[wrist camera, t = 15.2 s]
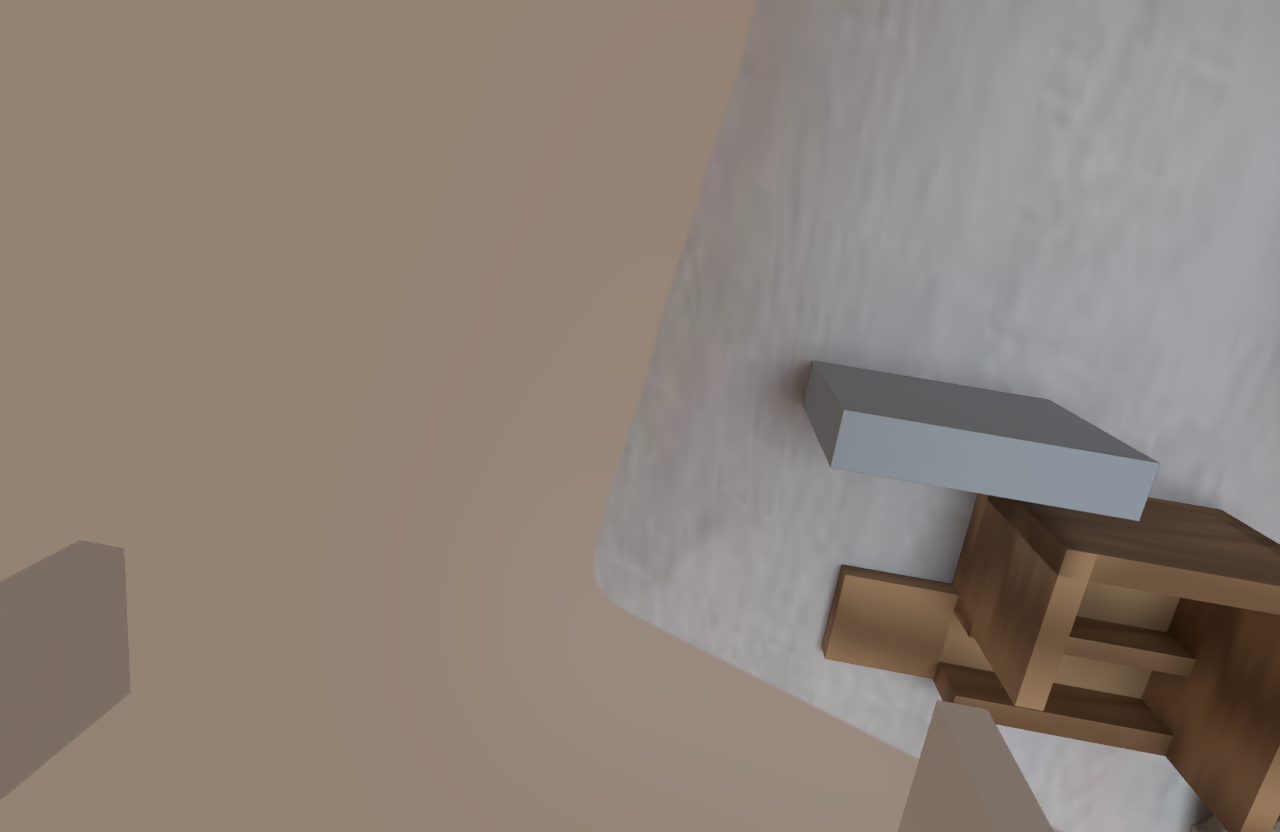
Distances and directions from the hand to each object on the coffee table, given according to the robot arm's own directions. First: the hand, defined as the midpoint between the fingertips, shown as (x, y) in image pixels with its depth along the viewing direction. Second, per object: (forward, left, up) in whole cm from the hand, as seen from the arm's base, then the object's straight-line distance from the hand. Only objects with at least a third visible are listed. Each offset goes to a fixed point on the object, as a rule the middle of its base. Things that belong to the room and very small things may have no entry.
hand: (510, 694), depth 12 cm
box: (+9, +21, -29) cm, 37 cm away
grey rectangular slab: (0, +14, -29) cm, 32 cm away
